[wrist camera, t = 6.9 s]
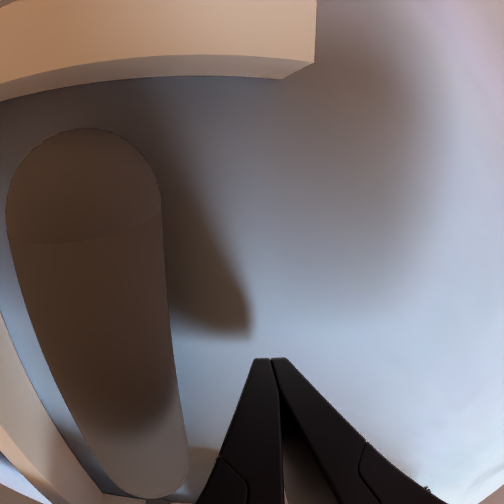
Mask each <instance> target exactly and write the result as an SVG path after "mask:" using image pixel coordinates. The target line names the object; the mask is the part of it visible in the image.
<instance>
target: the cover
mask: <svg viewBox="0 0 504 504" xmlns="http://www.w3.org/2000/svg"><path fill="white" fill-rule="evenodd" d="M0 504H43V503H40V502H38V501H36V500H34V499H31V498H29V497H27V496H25V495H23V494H20V493H18V492H16V491H14V490H12V489H10V488H8V487H6V486H4V485H2V484H1V483H0Z"/></svg>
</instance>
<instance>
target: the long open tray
mask: <svg viewBox="0 0 504 504" xmlns="http://www.w3.org/2000/svg"><path fill="white" fill-rule="evenodd" d="M316 5H317V0H18V1H15V2H12V3H10V4H7V5H5V6H3V7H0V101H4V100H7V99H11V98H15V97H19V96H23V95H28V94H32V93H37V92H41V91H46V90H51V89H57V88H62V87H68V86H74V85H80V84H87V83H94V82H102V81H111V80H120V79H131V78H145V77H162V76H239V77H257V78H271V79H283V78H285V77H287V76H289V75H291V74H293V73H294V72H296V71H298V70H300V69H302V68H304V67H306V66H308V65H310V64H312V63H314V53H315V32H316ZM0 451H1V452H2V453H3V454H4V455H5V456H6V458H7V459H8V460H9V461H10V462H11V463H12V464H13V465H14V466H15V468H16V469H17V470H18V471H19V472H20V473H21V474H22V475H23V476H24V477H25V478H26V479H27V480H28V481H29V482H30V483H31V484H32V485H33V486H34V487H35V488H36V489H37V490H38V491H39V492H40V493H41V494H42V495H43V496H45V497H46V498H47V499H48V500H49V501H50V502H51V503H52V504H193V503H175V502H169V501H166V500H161V499H147V500H143V499H136V498H129V497H122V496H116V495H110V494H105V493H102V492H101V490H100V489H99V488H98V487H97V485H96V484H95V483H94V482H93V480H92V479H91V478H90V476H89V475H88V474H87V472H86V471H85V470H84V468H83V467H82V466H81V464H80V463H79V461H78V460H77V459H76V457H75V456H74V454H73V453H72V451H71V450H70V448H69V447H68V445H67V444H66V442H65V441H64V439H63V438H62V436H61V435H60V433H59V432H58V430H57V428H56V427H55V425H54V423H53V422H52V420H51V418H50V417H49V415H48V413H47V412H46V410H45V408H44V406H43V405H42V403H41V401H40V399H39V397H38V395H37V393H36V392H35V390H34V388H33V386H32V384H31V382H30V380H29V378H28V376H27V374H26V372H25V370H24V368H23V365H22V363H21V361H20V359H19V357H18V355H17V352H16V350H15V348H14V345H13V343H12V341H11V338H10V336H9V333H8V331H7V328H6V326H5V323H4V320H3V318H2V315H1V312H0ZM215 462H216V461H214V464H215Z"/></svg>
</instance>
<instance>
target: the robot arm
mask: <svg viewBox="0 0 504 504" xmlns="http://www.w3.org/2000/svg"><path fill="white" fill-rule="evenodd" d="M218 456H219V457H217V459H216V462H215V464H214V467H213V469H212V472H211V474H210V476H209V478H208V481H207V483H206V485H205V487H204V489H203V491H202V493H201V494H200V496H199V498H198V500H197V501H196V503H195V504H285V502H284V488H285V492H286V496H287V500H288V504H448V503H446V502H444V501H442V500H441V499H439V498H438V497H436V496H435V495H433V494H432V493H431V491H430V489H427V490H426V489H425V488H423V487H422V486H420V485H419V484H418V483H416V482H415V481H413V480H412V479H411V478H409V477H408V476H407V475H405V474H404V473H403V472H401V471H400V470H399V469H398V468H396V467H395V466H394V465H393V464H391V463H390V462H389V461H388V460H387V459H386V458H385V457H383V456H382V455H381V454H380V453H379V452H378V451H377V450H376V449H375V448H374V447H373V446H372V445H371V444H370V443H369V442H366V439H365V438H364V437H363V436H361V435H360V434H359V433H358V432H357V431H356V430H355V429H354V428H353V427H352V426H351V425H350V424H349V423H348V422H347V420H346V419H345V418H344V417H343V416H342V415H341V414H340V413H339V412H338V411H337V410H336V409H335V408H334V407H333V406H332V405H331V404H330V403H329V402H328V401H327V400H326V399H325V398H324V397H323V396H322V395H321V394H320V393H319V392H318V391H317V390H316V389H315V388H314V387H313V386H312V385H311V383H310V382H309V381H308V380H307V379H306V378H305V377H304V376H303V375H302V374H301V373H300V372H299V371H298V370H297V369H296V368H295V367H294V365H293V364H292V363H291V362H290V361H289V360H288V359H287V358H284V357H282V358H271V359H269V358H255V359H254V360H253V363H252V366H251V368H250V371H249V374H248V377H247V380H246V382H245V385H244V388H243V391H242V393H241V396H240V399H239V402H238V404H237V407H236V410H235V412H234V415H233V418H232V420H231V423H230V426H229V428H228V431H227V434H226V436H225V439H224V442H223V444H222V447H221V449H220V452H219V455H218Z"/></svg>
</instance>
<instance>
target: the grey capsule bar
mask: <svg viewBox="0 0 504 504" xmlns="http://www.w3.org/2000/svg"><path fill="white" fill-rule="evenodd" d="M5 215H6V227H7V235H8V240H9V244H10V249H11V253H12V258H13V262H14V266H15V270H16V273H17V277H18V281H19V284H20V288H21V291H22V295H23V298H24V301H25V304H26V308H27V311H28V314H29V317H30V320H31V323H32V325H33V328H34V331H35V334H36V336H37V339H38V342H39V344H40V347H41V349H42V352H43V354H44V357H45V359H46V362H47V364H48V366H49V369H50V371H51V373H52V376H53V378H54V380H55V382H56V384H57V386H58V389H59V391H60V393H61V395H62V397H63V399H64V401H65V403H66V405H67V407H68V409H69V411H70V413H71V415H72V417H73V418H74V420H75V422H76V424H77V426H78V428H79V429H80V431H81V433H82V435H83V436H84V438H85V440H86V442H87V443H88V445H89V447H90V448H91V450H92V451H93V453H94V455H95V456H96V458H97V459H98V461H99V463H100V464H101V466H102V467H103V469H104V470H105V472H106V473H107V475H108V476H109V478H110V479H111V480H112V481H113V482H114V483H115V484H116V485H117V486H118V487H119V488H120V489H122V490H123V491H125V492H126V493H129V494H131V495H134V496H136V497H140V498H145V499H155V498H161V497H164V496H167V495H170V494H171V493H173V492H175V491H176V490H177V489H178V488H179V487H181V485H182V484H183V483H184V481H185V480H186V478H187V475H188V473H189V469H190V454H189V449H188V444H187V439H186V433H185V428H184V422H183V416H182V410H181V404H180V397H179V391H178V384H177V377H176V370H175V363H174V355H173V347H172V338H171V329H170V320H169V310H168V299H167V288H166V276H165V262H164V246H163V227H162V204H161V197H160V189H159V186H158V183H157V181H156V178H155V175H154V173H153V171H152V169H151V167H150V166H149V164H148V162H147V160H146V159H145V158H144V156H143V155H142V154H141V153H140V152H139V151H138V150H137V149H136V147H134V146H133V145H132V144H130V143H129V142H128V141H126V140H125V139H123V138H122V137H119V136H117V135H115V134H113V133H111V132H108V131H103V130H98V129H93V128H85V129H73V130H69V131H65V132H61V133H59V134H57V135H55V136H52V137H50V138H48V139H46V140H45V141H44V142H42V143H41V144H40V145H38V146H37V147H36V148H35V149H33V150H32V151H31V153H30V154H29V155H28V156H27V157H26V158H25V160H24V161H23V162H22V163H21V165H20V166H19V168H18V170H17V172H16V173H15V175H14V177H13V179H12V182H11V185H10V188H9V191H8V194H7V201H6V210H5Z"/></svg>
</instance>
